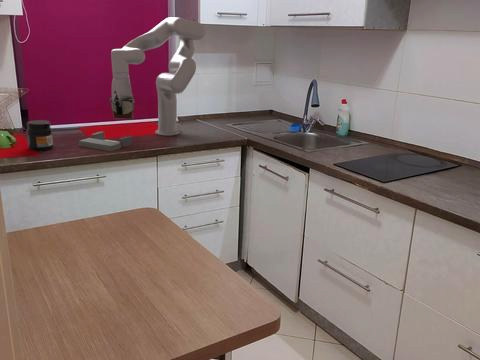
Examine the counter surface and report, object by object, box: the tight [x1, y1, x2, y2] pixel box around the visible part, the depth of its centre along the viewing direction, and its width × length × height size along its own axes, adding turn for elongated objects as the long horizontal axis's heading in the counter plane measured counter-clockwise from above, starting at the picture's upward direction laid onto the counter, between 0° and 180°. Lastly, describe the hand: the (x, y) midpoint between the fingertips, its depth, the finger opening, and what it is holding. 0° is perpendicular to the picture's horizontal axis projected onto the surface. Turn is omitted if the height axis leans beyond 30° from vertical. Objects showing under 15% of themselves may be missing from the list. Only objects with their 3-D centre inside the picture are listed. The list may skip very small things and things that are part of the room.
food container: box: [109, 96, 136, 120], centre depth 232 cm, size 12×6×10 cm, turn 81°
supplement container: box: [26, 119, 54, 152], centre depth 213 cm, size 10×10×12 cm
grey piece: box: [78, 131, 133, 152], centre depth 224 cm, size 16×18×4 cm
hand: (123, 112), depth 232 cm, fingers closed on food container, 5 cm apart
